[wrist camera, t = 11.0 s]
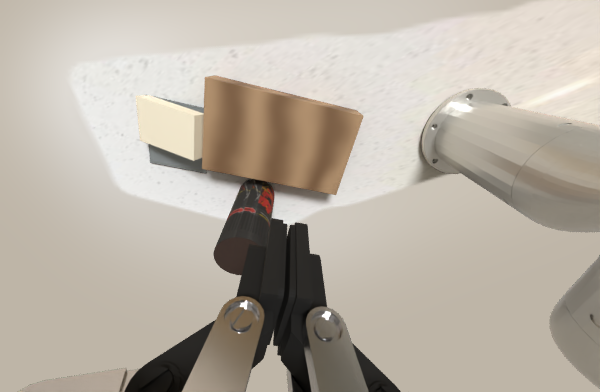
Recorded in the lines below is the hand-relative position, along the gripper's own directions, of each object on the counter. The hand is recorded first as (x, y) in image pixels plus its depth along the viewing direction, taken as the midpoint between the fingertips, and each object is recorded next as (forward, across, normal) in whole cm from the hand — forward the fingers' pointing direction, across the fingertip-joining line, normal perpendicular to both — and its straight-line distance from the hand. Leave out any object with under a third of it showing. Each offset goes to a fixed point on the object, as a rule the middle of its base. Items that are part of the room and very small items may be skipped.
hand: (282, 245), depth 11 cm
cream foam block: (+25, +15, +4) cm, 30 cm away
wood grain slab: (+27, +1, +2) cm, 27 cm away
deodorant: (+27, +3, +13) cm, 31 cm away
